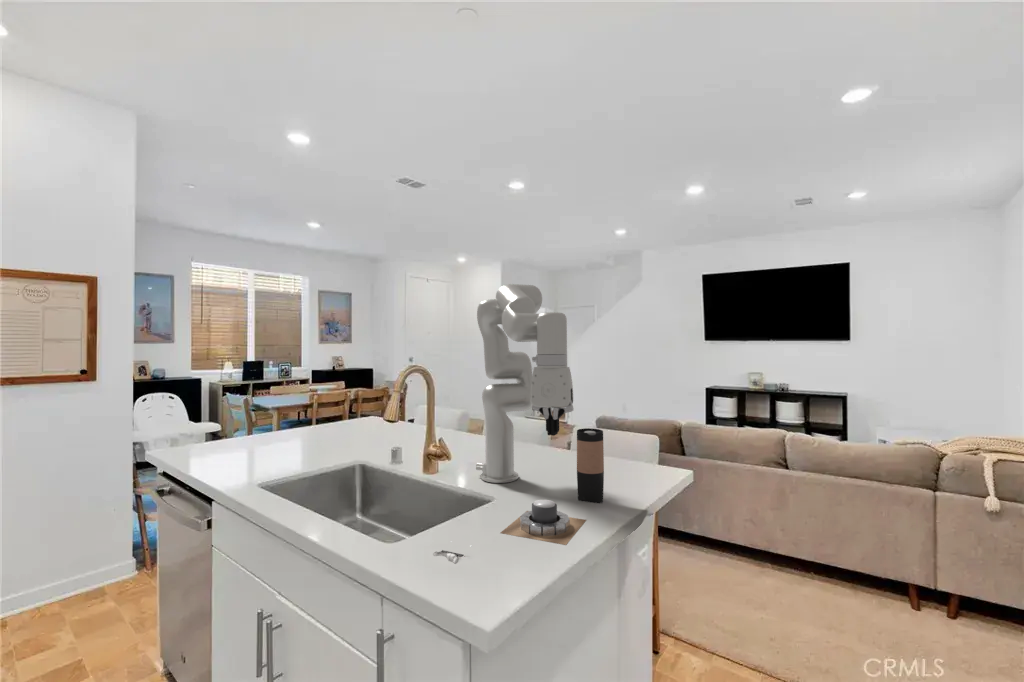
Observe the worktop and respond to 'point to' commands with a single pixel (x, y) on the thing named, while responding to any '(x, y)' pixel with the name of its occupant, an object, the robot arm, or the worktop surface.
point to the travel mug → (590, 465)
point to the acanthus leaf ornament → (449, 555)
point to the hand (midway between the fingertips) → (552, 434)
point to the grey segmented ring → (545, 525)
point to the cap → (544, 512)
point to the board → (559, 539)
